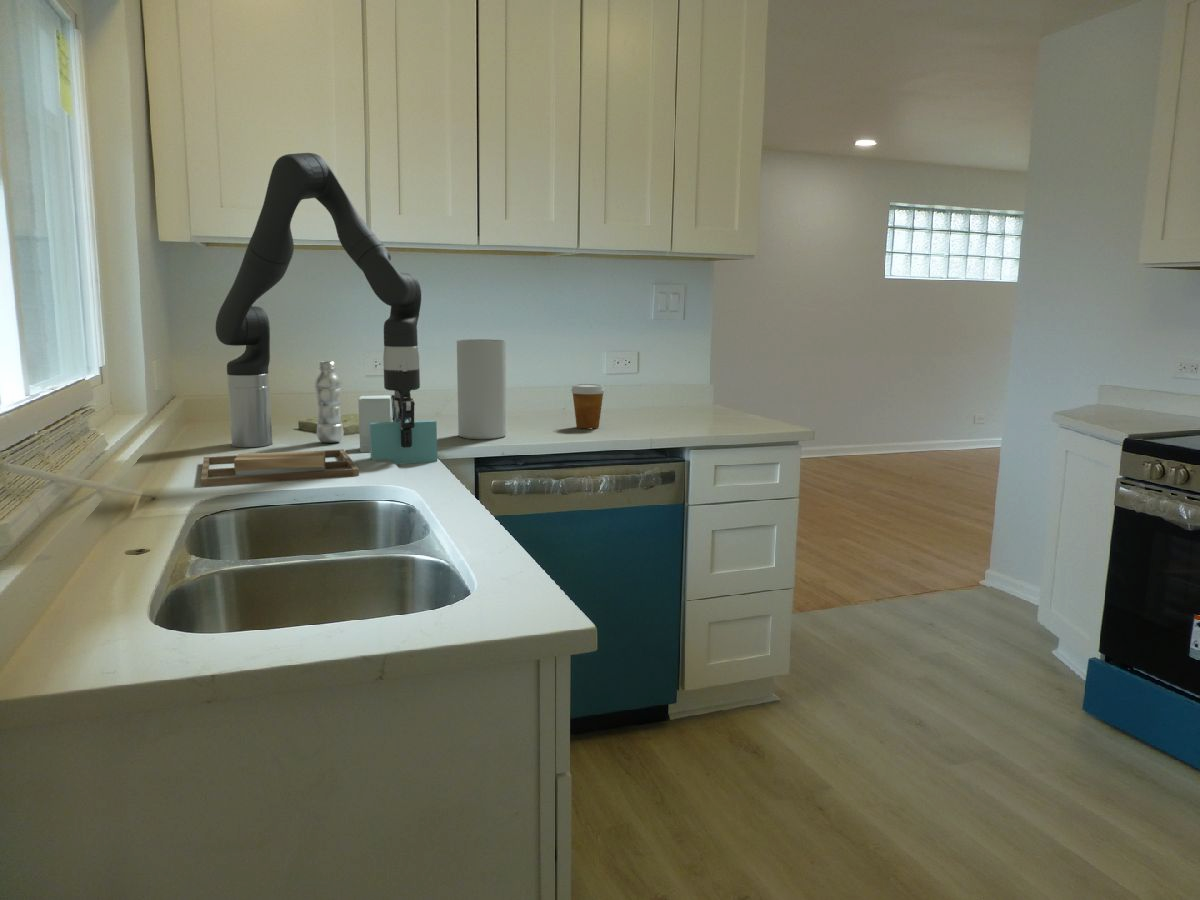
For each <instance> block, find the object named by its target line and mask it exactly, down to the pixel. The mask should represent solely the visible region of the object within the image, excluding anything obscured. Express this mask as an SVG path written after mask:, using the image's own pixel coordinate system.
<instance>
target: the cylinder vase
mask: <svg viewBox="0 0 1200 900" xmlns="http://www.w3.org/2000/svg"><path fill="white" fill-rule="evenodd" d="M506 344H507V343H506V340H505V339H493V338H492V339H491V338H490V339H487V338H485V339H484V338H483V339H482V338H480V339H477V338H476V339H473V338H471V339H457V340H456V368H457V369H456V374H457V376H456V377H457V379H456V380H457V385H456V386H457V423H458V424H457V426H458V427H457V428H458V430H457V431H458V436H459V437H461V438H462V437H463V439H468V440H495V439H501V438H503V437H506V435H507V365H506V364H507V359H506V358H507V357H506V355H507V354H506V353H507V349H506V348H507V346H506Z"/></svg>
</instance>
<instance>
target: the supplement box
mask: <svg viewBox="0 0 1200 900" xmlns="http://www.w3.org/2000/svg"><path fill="white" fill-rule="evenodd" d="M391 396H392V395H389V394H387V395H384V394H383V395H361V396H359V398H358V399H357V400H358V414H359V432H360V434H359V452H360V453H370V427H369V423H381V422H393V419H392V418H393V413H392V399H391Z"/></svg>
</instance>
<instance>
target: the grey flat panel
mask: <svg viewBox="0 0 1200 900" xmlns="http://www.w3.org/2000/svg"><path fill="white" fill-rule="evenodd" d="M321 470H326V469H325V465H324V467H312V468H288V469H264V470H240V471H236V475H235V476H245V475H261V474H276V473H291V472H306V471H321Z"/></svg>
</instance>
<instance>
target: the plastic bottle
mask: <svg viewBox="0 0 1200 900" xmlns="http://www.w3.org/2000/svg"><path fill="white" fill-rule="evenodd" d="M318 370H320V372H319V374H318V375H317V376H316V378H315V381H314V388H315V395H316V401H317V411H318V413H317V417H318V425H317V432H316V437H317V439H318V440H319V442H322V443H328V444H334V443H337V442H341V441H342V440H343V438H344V436H343V434H344V430H343V425H342V423H341V422H342V421H341V415H342V414H341V392H342V381H341V379H340V377H339V376H338V374H337V373H336V372H335V370H336V362H335V361H328V360H327V361H319V368H318Z"/></svg>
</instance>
